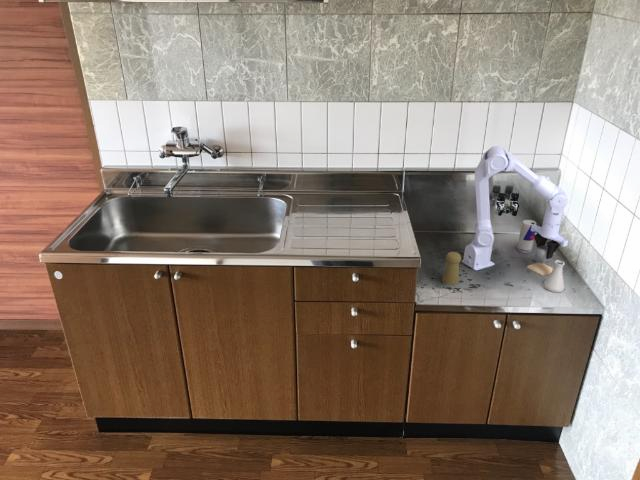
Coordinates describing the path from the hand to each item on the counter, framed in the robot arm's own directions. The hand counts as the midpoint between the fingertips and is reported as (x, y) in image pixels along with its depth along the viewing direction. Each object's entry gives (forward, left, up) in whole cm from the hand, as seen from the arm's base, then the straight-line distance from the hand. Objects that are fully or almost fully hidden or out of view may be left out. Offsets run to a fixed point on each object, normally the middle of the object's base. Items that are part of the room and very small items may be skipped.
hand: (544, 255), depth 188 cm
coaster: (0, 0, -6) cm, 6 cm away
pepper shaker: (-35, +9, -6) cm, 37 cm away
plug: (0, 0, -2) cm, 2 cm away
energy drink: (+6, +14, -6) cm, 16 cm away
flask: (-6, -11, -6) cm, 14 cm away
